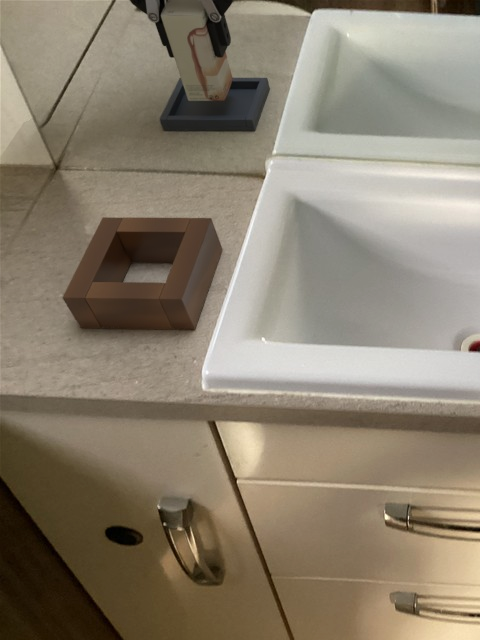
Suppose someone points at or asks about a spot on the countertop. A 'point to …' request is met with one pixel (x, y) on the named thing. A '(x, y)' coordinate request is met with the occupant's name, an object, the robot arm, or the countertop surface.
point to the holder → (140, 297)
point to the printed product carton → (195, 51)
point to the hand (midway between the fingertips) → (199, 49)
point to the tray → (217, 108)
